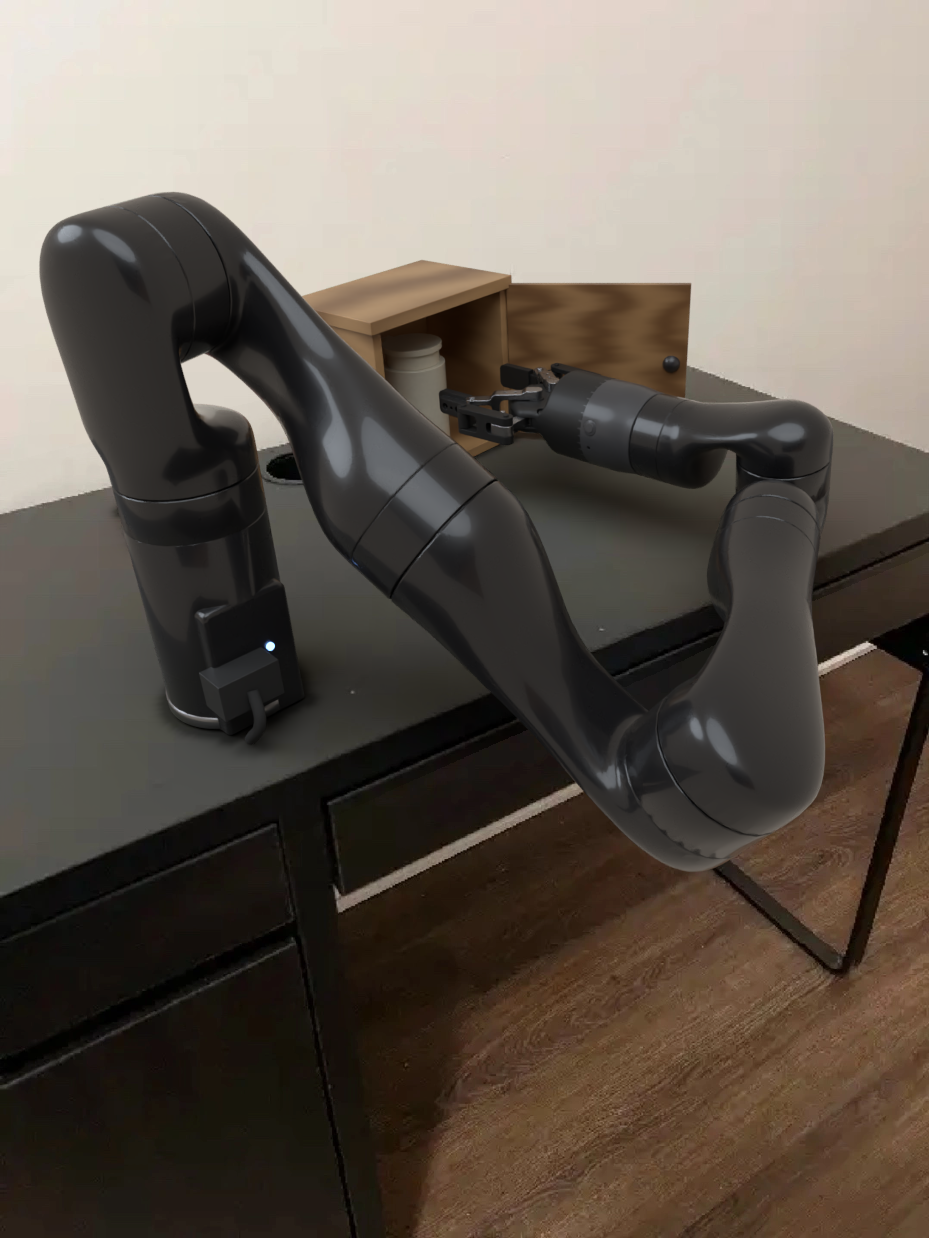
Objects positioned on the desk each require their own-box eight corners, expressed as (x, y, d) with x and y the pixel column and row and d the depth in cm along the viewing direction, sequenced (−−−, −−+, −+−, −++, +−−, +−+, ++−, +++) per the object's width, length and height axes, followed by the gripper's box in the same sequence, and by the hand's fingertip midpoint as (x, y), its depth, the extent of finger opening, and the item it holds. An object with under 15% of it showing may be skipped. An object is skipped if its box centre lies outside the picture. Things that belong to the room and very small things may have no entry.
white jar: (463, 442, 108) (456, 339, 102) (420, 462, 104) (410, 356, 98) (416, 427, 112) (407, 327, 107) (372, 446, 109) (360, 344, 103)
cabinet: (684, 444, 107) (694, 274, 98) (507, 544, 90) (499, 353, 81) (486, 390, 124) (478, 242, 115) (307, 467, 108) (281, 302, 98)
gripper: (557, 491, 87) (423, 447, 96) (655, 437, 95) (522, 402, 105) (556, 406, 83) (416, 369, 92) (658, 358, 91) (520, 328, 101)
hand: (473, 386), depth 99 cm, fingers open, 8 cm apart
